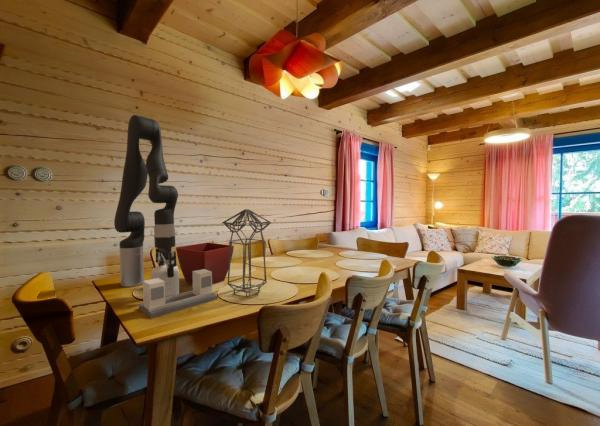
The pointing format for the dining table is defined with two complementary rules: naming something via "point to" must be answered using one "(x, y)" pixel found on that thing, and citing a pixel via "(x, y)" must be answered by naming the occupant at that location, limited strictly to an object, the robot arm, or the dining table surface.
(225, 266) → the plant pot
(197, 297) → the rail board
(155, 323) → the dining table surface
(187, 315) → the dining table surface
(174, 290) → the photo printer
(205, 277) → the mounted modules
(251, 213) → the geometric lantern
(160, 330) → the dining table surface
